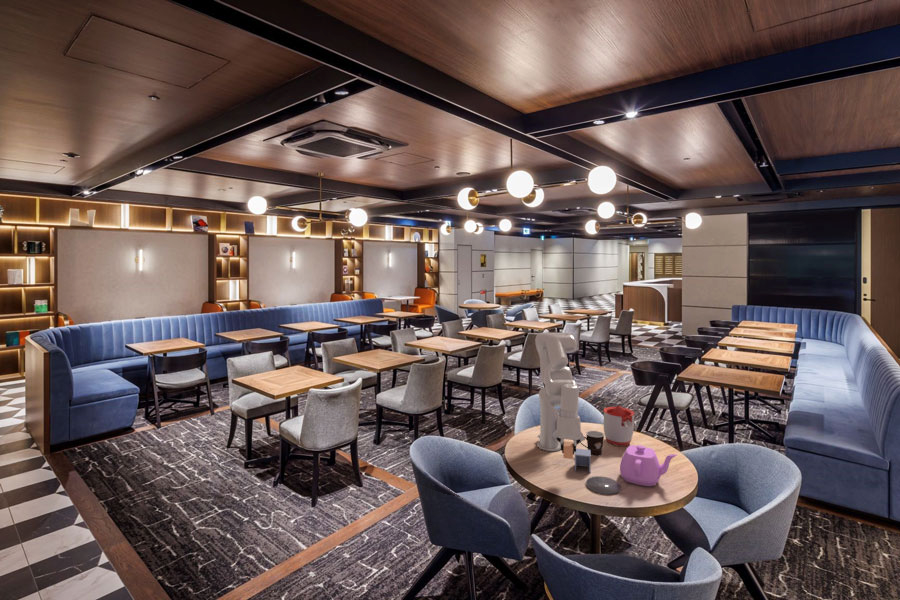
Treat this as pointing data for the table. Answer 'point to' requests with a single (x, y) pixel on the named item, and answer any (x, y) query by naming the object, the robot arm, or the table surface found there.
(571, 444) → the terracotta block
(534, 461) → the table surface
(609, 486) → the charcoal dish
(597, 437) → the coffee mug
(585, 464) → the grey angular piece
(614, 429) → the red and white bucket
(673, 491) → the table surface
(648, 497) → the table surface
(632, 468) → the teapot
